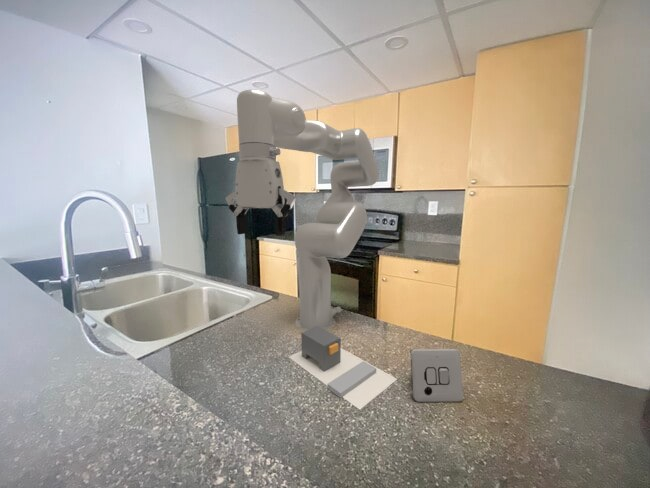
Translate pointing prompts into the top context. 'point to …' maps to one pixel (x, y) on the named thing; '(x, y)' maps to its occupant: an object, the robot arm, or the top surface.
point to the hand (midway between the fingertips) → (261, 234)
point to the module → (321, 347)
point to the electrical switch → (436, 375)
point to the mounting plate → (349, 377)
